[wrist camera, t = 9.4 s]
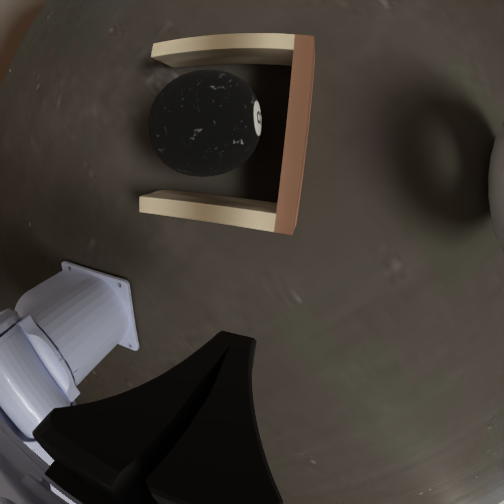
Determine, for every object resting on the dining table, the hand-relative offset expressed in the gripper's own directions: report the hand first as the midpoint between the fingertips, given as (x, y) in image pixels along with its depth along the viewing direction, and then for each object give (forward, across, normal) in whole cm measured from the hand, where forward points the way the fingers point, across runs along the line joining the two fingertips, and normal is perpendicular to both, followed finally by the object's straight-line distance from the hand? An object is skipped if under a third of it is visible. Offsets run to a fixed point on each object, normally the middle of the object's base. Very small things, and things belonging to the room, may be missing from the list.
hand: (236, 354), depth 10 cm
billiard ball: (+10, +4, -8) cm, 14 cm away
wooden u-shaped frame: (+9, +4, -8) cm, 13 cm away
